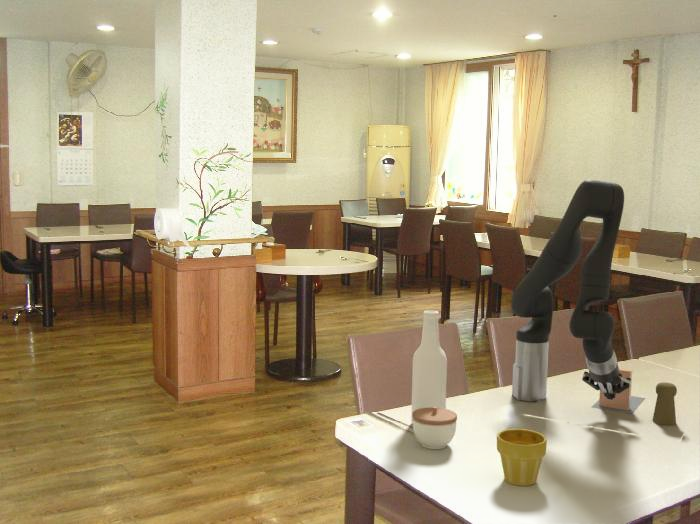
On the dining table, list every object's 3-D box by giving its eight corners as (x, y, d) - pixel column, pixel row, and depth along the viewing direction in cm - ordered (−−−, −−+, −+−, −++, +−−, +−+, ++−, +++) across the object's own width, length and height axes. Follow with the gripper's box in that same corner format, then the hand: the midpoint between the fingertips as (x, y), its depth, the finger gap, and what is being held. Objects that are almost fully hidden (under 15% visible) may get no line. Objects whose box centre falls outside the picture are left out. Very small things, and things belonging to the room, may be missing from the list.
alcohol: (407, 427, 201) (409, 312, 197) (416, 417, 209) (418, 307, 205) (440, 432, 198) (443, 315, 194) (448, 421, 206) (451, 309, 202)
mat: (631, 415, 213) (631, 413, 213) (591, 408, 219) (591, 407, 219) (645, 399, 228) (645, 398, 228) (606, 393, 234) (606, 392, 234)
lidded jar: (403, 440, 191) (404, 403, 190) (441, 435, 195) (443, 398, 194) (424, 455, 181) (426, 416, 180) (464, 449, 186) (465, 411, 184)
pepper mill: (678, 428, 203) (681, 387, 202) (654, 426, 204) (656, 385, 203) (673, 421, 209) (676, 381, 208) (650, 419, 210) (652, 379, 209)
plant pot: (500, 489, 162) (502, 444, 161) (491, 470, 173) (493, 428, 171) (550, 490, 162) (552, 445, 161) (538, 471, 173) (540, 428, 171)
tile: (628, 410, 216) (630, 371, 215) (599, 405, 220) (601, 367, 219) (630, 408, 218) (632, 369, 217) (601, 403, 222) (603, 365, 221)
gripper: (631, 353, 201) (638, 388, 213) (579, 346, 208) (589, 381, 220) (625, 377, 197) (633, 412, 209) (572, 370, 204) (583, 404, 216)
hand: (610, 396), depth 214 cm, fingers closed
